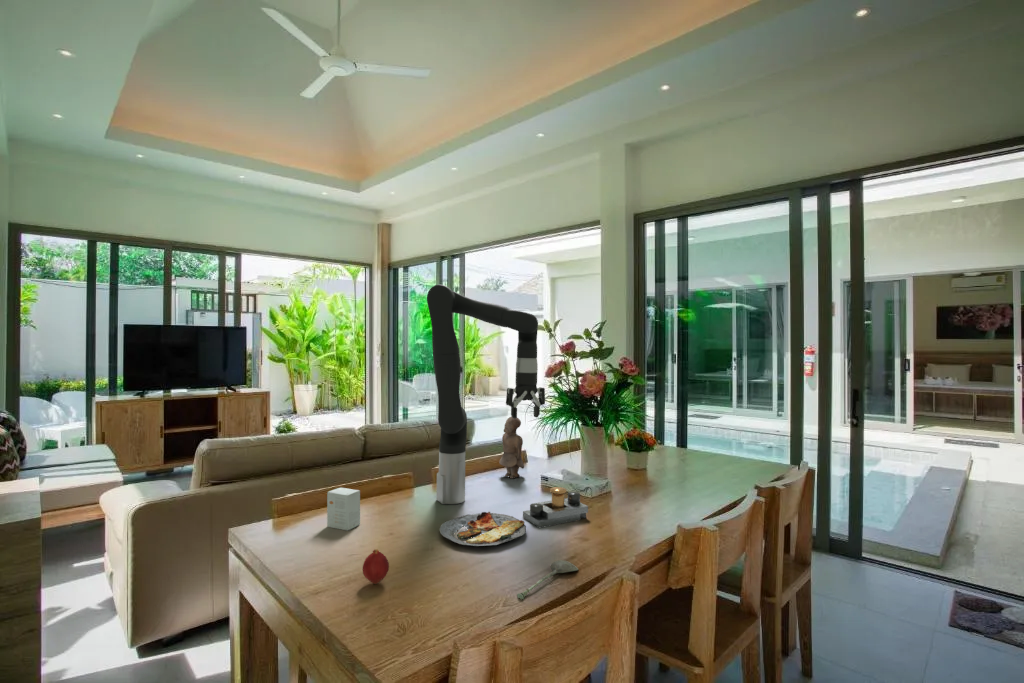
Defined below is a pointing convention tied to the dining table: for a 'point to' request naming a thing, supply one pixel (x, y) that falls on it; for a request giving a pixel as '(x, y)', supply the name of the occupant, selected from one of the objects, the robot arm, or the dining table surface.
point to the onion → (375, 567)
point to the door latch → (556, 511)
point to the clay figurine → (512, 448)
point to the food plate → (483, 529)
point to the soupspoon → (557, 568)
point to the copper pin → (557, 497)
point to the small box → (343, 508)
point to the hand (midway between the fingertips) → (525, 417)
